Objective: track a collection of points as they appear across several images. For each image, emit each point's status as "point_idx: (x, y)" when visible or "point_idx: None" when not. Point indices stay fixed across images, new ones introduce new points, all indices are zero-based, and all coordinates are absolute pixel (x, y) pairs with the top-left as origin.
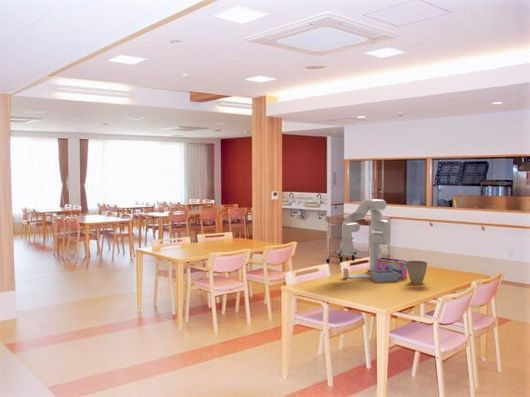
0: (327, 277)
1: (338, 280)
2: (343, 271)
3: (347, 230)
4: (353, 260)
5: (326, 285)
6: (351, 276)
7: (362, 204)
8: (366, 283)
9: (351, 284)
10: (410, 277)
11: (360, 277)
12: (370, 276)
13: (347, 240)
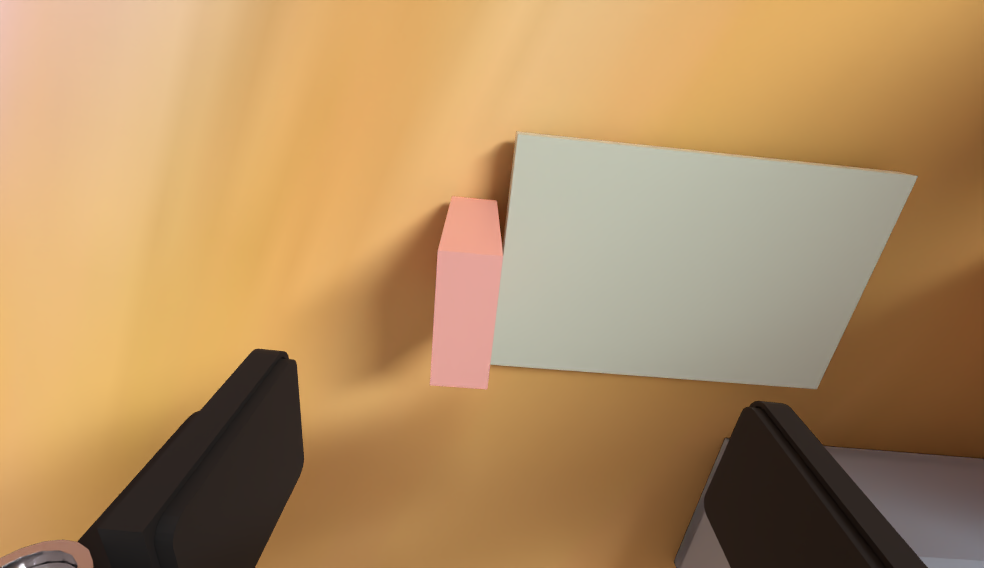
0: (170, 76)
1: (298, 340)
2: (444, 226)
3: None
4: (716, 520)
5: (72, 513)
6: (548, 304)
7: None
8: (562, 545)
9: (379, 541)
10: None
11: (650, 372)
12: (813, 384)
13: None
